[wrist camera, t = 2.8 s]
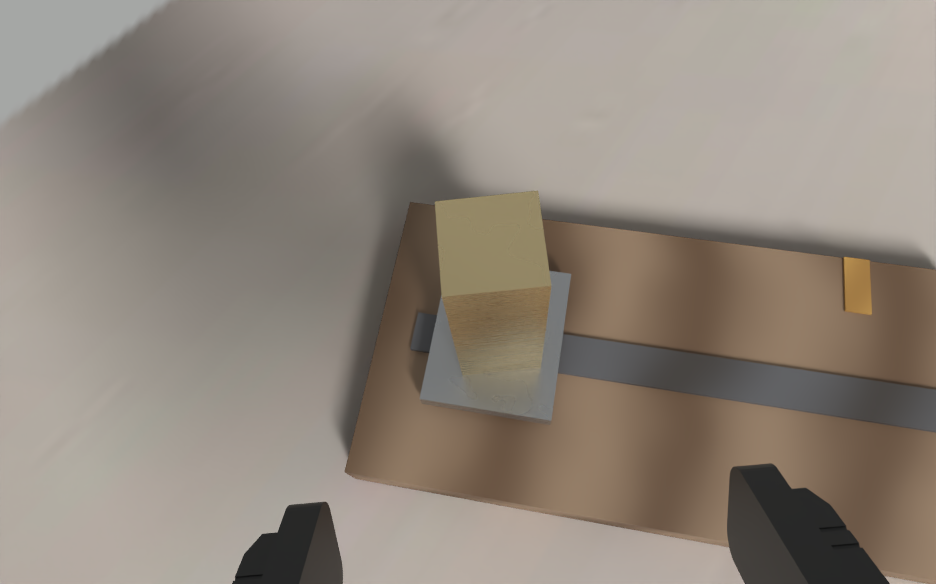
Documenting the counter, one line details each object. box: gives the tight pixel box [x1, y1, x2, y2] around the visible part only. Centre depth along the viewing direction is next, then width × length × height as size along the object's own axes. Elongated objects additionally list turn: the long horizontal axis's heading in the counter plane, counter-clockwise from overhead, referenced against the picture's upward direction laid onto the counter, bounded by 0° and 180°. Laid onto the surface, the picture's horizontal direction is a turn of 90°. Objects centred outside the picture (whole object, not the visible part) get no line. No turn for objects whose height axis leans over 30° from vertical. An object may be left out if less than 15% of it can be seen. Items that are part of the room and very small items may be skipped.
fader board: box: [345, 202, 936, 584], centre depth 28 cm, size 24×12×2 cm, turn 80°
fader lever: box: [420, 191, 571, 425], centre depth 23 cm, size 5×6×9 cm
